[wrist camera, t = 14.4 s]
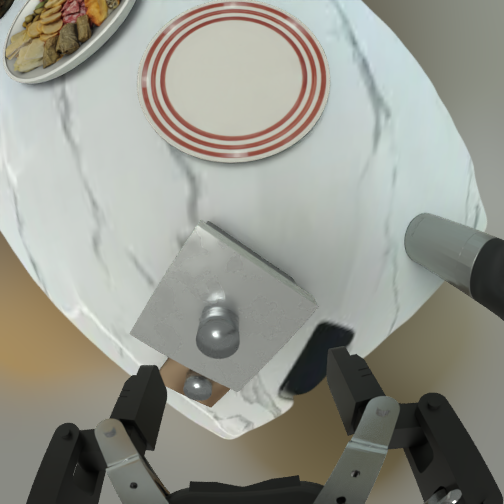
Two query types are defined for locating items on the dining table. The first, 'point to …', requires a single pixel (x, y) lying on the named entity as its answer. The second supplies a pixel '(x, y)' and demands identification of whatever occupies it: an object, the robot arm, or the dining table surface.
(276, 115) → the dinner plate
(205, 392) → the cylinder
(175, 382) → the walnut board
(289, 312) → the pan
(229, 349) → the cylinder
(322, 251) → the dining table surface
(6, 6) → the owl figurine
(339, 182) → the dining table surface
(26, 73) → the bowl
